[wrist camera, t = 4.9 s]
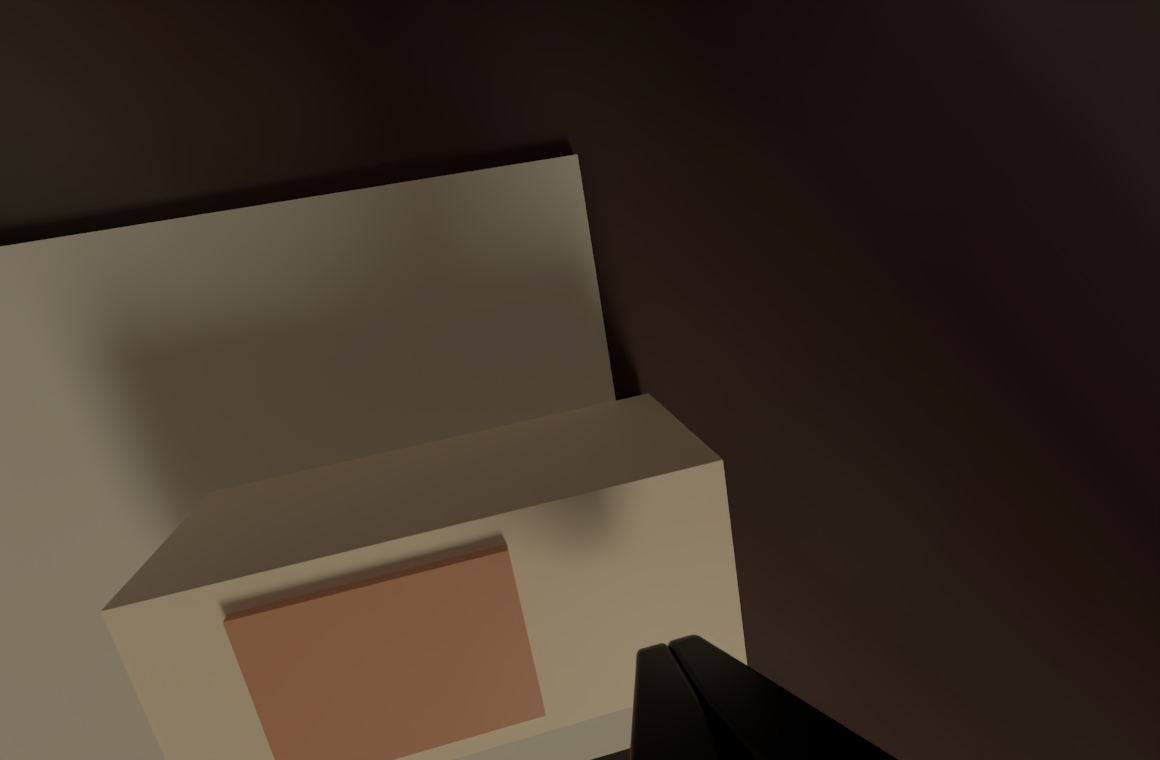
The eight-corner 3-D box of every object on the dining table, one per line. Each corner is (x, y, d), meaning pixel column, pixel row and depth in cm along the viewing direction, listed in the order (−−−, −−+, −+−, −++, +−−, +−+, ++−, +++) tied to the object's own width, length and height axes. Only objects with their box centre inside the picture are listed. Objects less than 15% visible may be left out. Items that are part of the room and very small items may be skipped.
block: (728, 464, 10) (92, 620, 8) (752, 680, 11) (192, 846, 9) (648, 393, 14) (209, 491, 12) (672, 555, 15) (270, 661, 13)
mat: (574, 155, 12) (577, 154, 12) (664, 727, 16) (668, 736, 16) (-243, 286, 11) (-263, 288, 10) (74, 901, 14) (65, 915, 14)
